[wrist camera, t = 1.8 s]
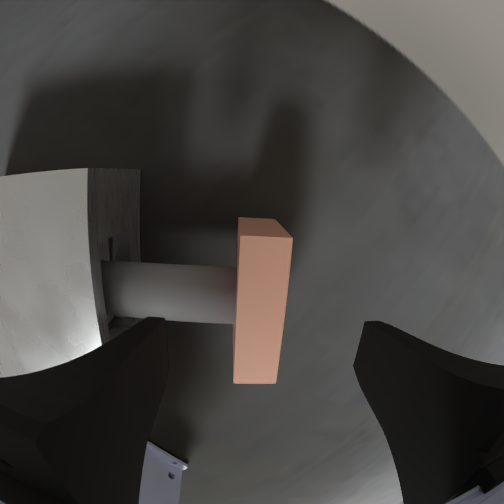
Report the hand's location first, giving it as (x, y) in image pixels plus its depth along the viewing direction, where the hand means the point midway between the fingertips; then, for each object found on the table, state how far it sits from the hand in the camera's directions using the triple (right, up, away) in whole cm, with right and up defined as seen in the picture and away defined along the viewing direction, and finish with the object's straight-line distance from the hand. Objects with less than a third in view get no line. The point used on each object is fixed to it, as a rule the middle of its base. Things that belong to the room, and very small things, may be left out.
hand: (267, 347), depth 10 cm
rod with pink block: (-9, +2, +6) cm, 11 cm away
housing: (-14, +3, +7) cm, 16 cm away
